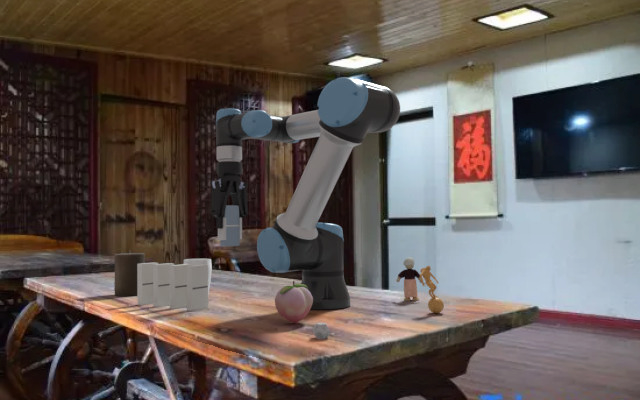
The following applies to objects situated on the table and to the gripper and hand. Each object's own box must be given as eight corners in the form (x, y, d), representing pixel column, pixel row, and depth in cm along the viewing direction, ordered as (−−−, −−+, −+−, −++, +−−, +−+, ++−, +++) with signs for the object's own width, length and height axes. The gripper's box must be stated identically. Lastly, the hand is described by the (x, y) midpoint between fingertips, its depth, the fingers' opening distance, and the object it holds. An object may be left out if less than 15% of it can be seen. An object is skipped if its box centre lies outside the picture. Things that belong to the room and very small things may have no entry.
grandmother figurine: (421, 298, 172) (420, 256, 172) (423, 300, 168) (423, 257, 168) (395, 299, 172) (394, 257, 172) (397, 301, 168) (397, 257, 168)
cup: (208, 298, 179) (208, 260, 179) (180, 299, 179) (179, 260, 179) (214, 294, 188) (214, 258, 188) (187, 295, 188) (187, 258, 188)
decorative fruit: (289, 319, 140) (288, 278, 141) (318, 321, 136) (317, 279, 137) (267, 325, 132) (266, 281, 133) (296, 328, 128) (296, 283, 128)
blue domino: (239, 245, 171) (239, 205, 171) (225, 246, 166) (225, 205, 167) (234, 245, 172) (234, 205, 173) (220, 246, 167) (220, 205, 168)
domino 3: (190, 306, 164) (190, 264, 164) (174, 309, 159) (174, 265, 159) (185, 305, 165) (185, 263, 165) (169, 308, 160) (169, 265, 160)
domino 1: (158, 302, 172) (158, 262, 172) (141, 305, 167) (141, 264, 167) (153, 302, 173) (153, 262, 173) (137, 304, 168) (137, 263, 168)
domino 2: (174, 304, 168) (174, 263, 168) (157, 307, 163) (157, 264, 163) (169, 303, 169) (169, 263, 169) (153, 306, 164) (153, 264, 164)
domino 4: (208, 308, 160) (207, 264, 160) (192, 311, 155) (191, 266, 155) (203, 307, 161) (202, 264, 161) (187, 310, 156) (186, 266, 156)
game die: (312, 336, 119) (311, 322, 119) (329, 336, 119) (329, 321, 119) (312, 340, 116) (312, 325, 116) (331, 340, 116) (330, 325, 116)
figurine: (436, 316, 141) (435, 267, 142) (414, 314, 145) (413, 266, 145) (450, 311, 148) (449, 265, 148) (428, 309, 152) (427, 264, 152)
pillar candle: (139, 296, 187) (139, 250, 188) (109, 296, 187) (110, 250, 188) (148, 292, 197) (148, 249, 197) (120, 293, 197) (120, 249, 197)
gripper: (241, 164, 180) (242, 238, 179) (196, 160, 164) (197, 240, 163) (259, 163, 176) (260, 238, 175) (215, 158, 160) (216, 240, 159)
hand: (230, 239), depth 169 cm, fingers closed on blue domino, 6 cm apart
